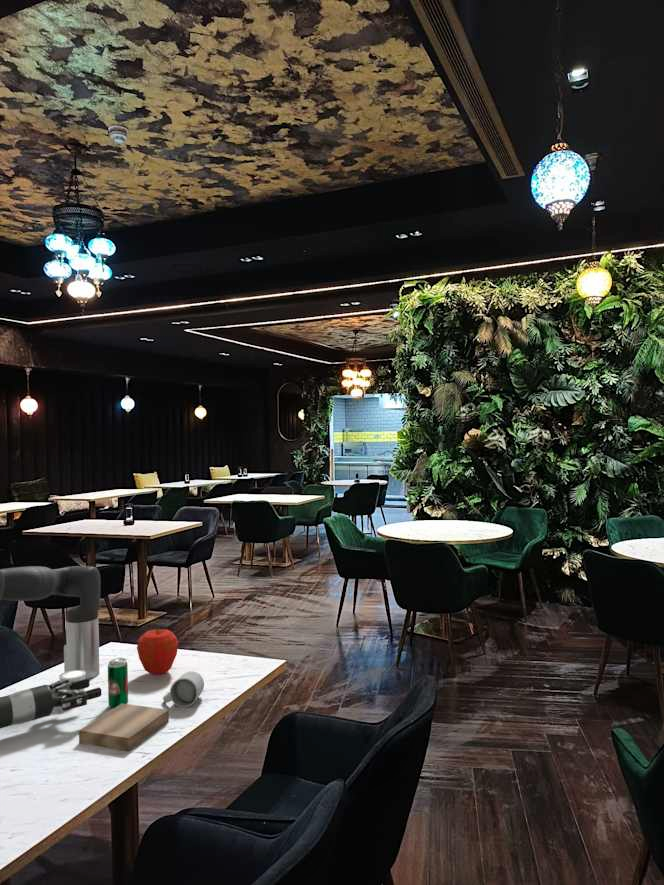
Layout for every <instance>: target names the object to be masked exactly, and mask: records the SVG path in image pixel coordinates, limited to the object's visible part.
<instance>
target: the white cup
mask: <svg viewBox="0 0 664 885" xmlns="http://www.w3.org/2000/svg"><path fill="white" fill-rule="evenodd" d="M85 676H86V672H85V671H83V670H72V671H68V672H62V673H60V674H59V676H58V677H59V682H61V681H65V680H69V682H70V681H74V682H75V681H79V680H83V679H85ZM85 689H86V688H84V689H80V690H78V691H79V692H80V691H85ZM74 690H75V689H74ZM81 699H82V698H81Z"/></svg>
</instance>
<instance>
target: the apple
mask: <svg viewBox="0 0 664 885" xmlns="http://www.w3.org/2000/svg"><path fill="white" fill-rule="evenodd" d="M178 647H179V642H178V638H177V636H176V635H175V634H174V633H173V631H171V630H169V629H159V628H158V627H157V629H151V630H147V631H146V632H144V633H143V634H142V635H141V636H140V637H139V640H138V643H137V646H136V650H137V655H138V660H139V661H140V663H141V665H142V667H143V669H144V671H146V672H147V673H149V674H150V675H152V676H162V675H167V673H168V672H169V671H170V670H171V669H172V667H173V665H174V662H175V659H176V657H177V653H178V649H179V648H178Z"/></svg>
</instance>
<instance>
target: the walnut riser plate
mask: <svg viewBox="0 0 664 885" xmlns="http://www.w3.org/2000/svg"><path fill="white" fill-rule="evenodd" d="M169 717H170V714H169V709H167V708H160V707H152V706H143V705H136V704H130V703H127V704H123V703H122V704H120V705H119V706H117V707H115V708H111V710H109V711H108V712H105V713H104V714H102V715H101V716H99V717H98V718H96V719H95V720H93V721H91V722H90V723H89V724H87V725H85V726H84V727H82V728H80V729H79V730H78V741H79V742H78V743H79V744H82V745H87V746H88V745H89V746H95V747H102V748H106V749H114V750H120V751H125V752H130V751H131V750H133V749H134V748H136V747H137V746H138V745H139V744H141V743H142V742H144V741H145V740H146V739H148V738H149V737H150V736H152V735H153V734H154V733H155V732H157V731H158V730H160V729H161V728H162V727H164V726H165V725H166V724H167V723H169V719H170V718H169Z"/></svg>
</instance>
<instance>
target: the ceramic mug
mask: <svg viewBox="0 0 664 885" xmlns="http://www.w3.org/2000/svg"><path fill="white" fill-rule="evenodd" d="M204 687H205V680H204V678H203V676H202V675H201V674H200V673H198V672H196V671H187V672H185V673H183V674H181V676H179V677H178V678H177V679H176V680H175V681H174V682H173V683H172V684H171V686H170V689H169V692H168V693H166V694H165V695H164V696H162V699H163V702H164V704H168V703H170V702H172V703H173V704H174V705H175V706H177V707H180V708H188V707H191V706H193V704H195V703H196V701H197V700H198V698H199V697H200V695H202V693H203V690H204Z"/></svg>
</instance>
